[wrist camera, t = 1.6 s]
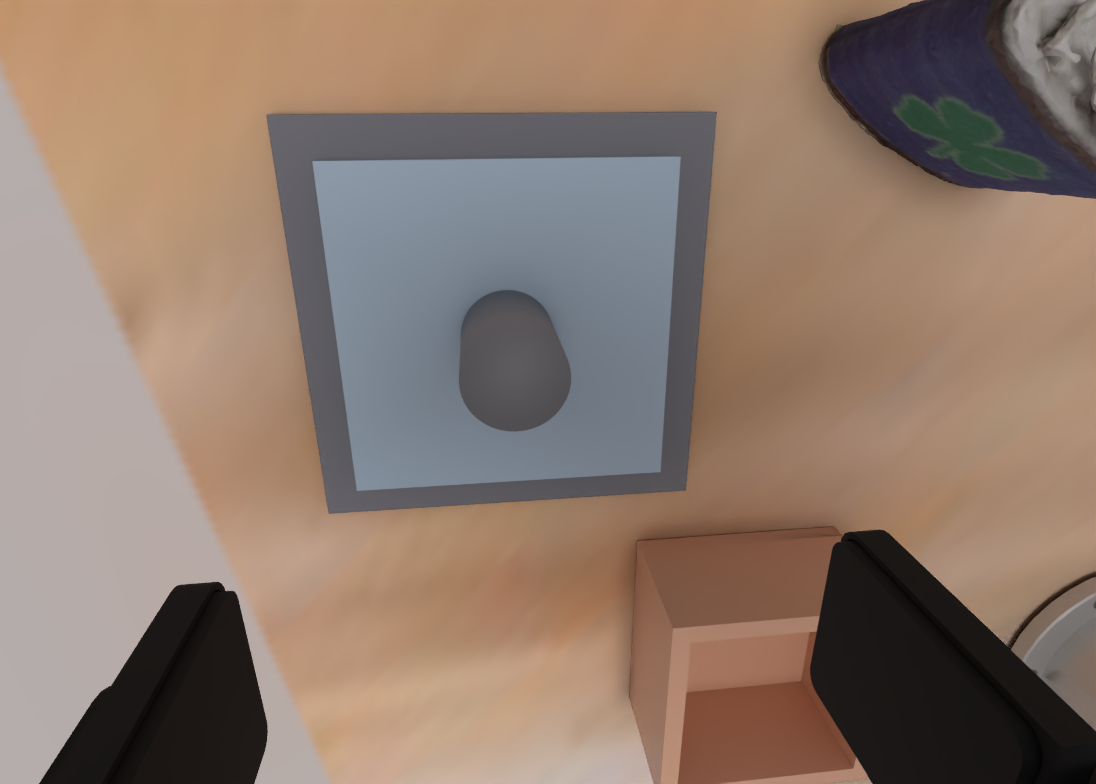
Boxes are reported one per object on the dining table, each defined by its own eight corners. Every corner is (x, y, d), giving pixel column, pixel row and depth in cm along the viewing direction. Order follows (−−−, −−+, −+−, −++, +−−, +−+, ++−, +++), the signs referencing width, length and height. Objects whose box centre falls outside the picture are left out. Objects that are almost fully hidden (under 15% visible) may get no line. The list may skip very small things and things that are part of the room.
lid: (674, 155, 24) (731, 162, 19) (655, 463, 29) (697, 537, 24) (317, 160, 23) (270, 168, 18) (359, 481, 28) (333, 564, 22)
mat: (710, 112, 24) (716, 111, 24) (681, 483, 30) (685, 490, 30) (271, 115, 23) (266, 114, 22) (331, 506, 29) (328, 513, 28)
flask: (1012, 144, 26) (1338, 151, 16) (962, 208, 27) (1243, 252, 17) (847, 3, 24) (1115, -90, 14) (797, 78, 24) (1016, 42, 15)
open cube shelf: (834, 526, 32) (908, 607, 27) (805, 679, 36) (866, 779, 30) (637, 540, 31) (672, 628, 26) (629, 696, 35) (658, 802, 30)
